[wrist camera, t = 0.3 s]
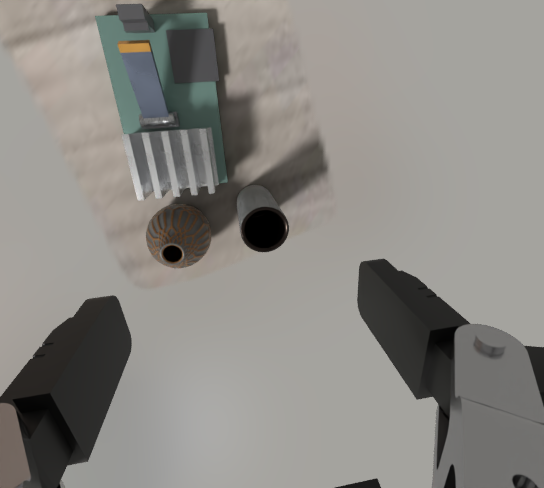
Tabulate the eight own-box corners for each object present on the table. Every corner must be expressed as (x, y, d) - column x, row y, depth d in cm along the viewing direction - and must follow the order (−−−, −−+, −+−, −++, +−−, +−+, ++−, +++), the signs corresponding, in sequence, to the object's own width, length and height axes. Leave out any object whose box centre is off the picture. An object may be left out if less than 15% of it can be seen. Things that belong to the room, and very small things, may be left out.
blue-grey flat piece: (113, 40, 24) (111, 45, 23) (154, 38, 24) (153, 44, 23) (143, 123, 30) (142, 130, 29) (176, 121, 30) (175, 128, 29)
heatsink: (129, 115, 30) (112, 113, 25) (209, 109, 31) (206, 107, 26) (147, 189, 33) (134, 200, 28) (218, 183, 34) (217, 192, 29)
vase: (207, 195, 35) (203, 216, 27) (215, 247, 38) (213, 280, 30) (148, 200, 35) (126, 224, 27) (161, 253, 37) (143, 289, 29)
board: (100, 20, 28) (94, 15, 26) (211, 16, 29) (211, 11, 28) (140, 188, 34) (137, 191, 33) (230, 180, 35) (231, 182, 34)
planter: (279, 207, 37) (297, 236, 28) (249, 226, 38) (257, 261, 28) (260, 177, 36) (273, 197, 26) (229, 197, 36) (230, 223, 26)
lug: (130, 20, 27) (115, 4, 23) (153, 19, 27) (141, 3, 24) (134, 40, 28) (121, 27, 24) (156, 39, 28) (146, 27, 24)
